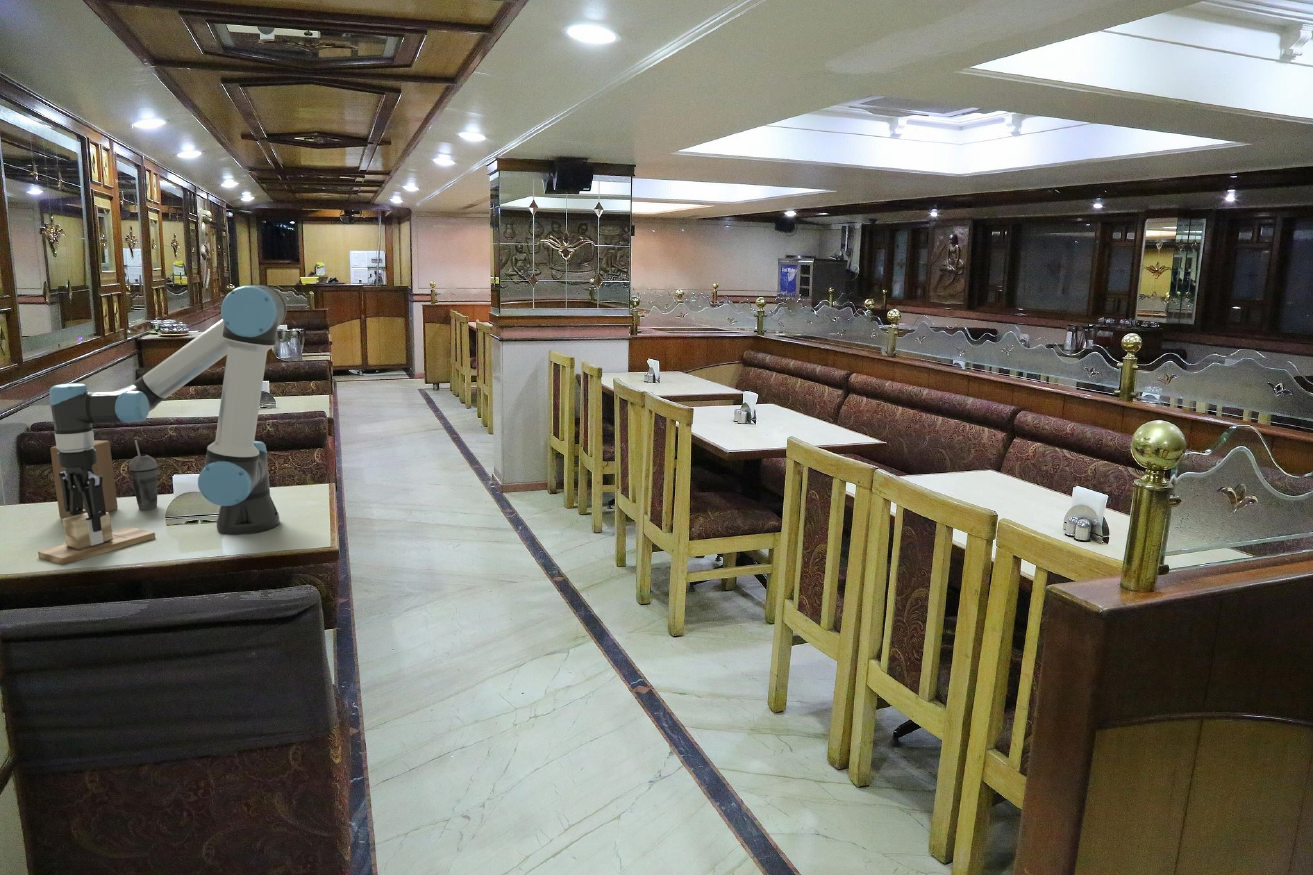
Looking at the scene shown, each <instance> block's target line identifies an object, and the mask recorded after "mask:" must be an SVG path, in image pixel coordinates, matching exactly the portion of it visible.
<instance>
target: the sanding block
mask: <svg viewBox="0 0 1313 875" xmlns="http://www.w3.org/2000/svg"><path fill="white" fill-rule="evenodd" d="M86 518H89V517H88V513H84V514H80V515H76V516H72V517H68V518H62V525H63V531H64V537H65V544H66V545H67V547H70V548H74V549H78V550H80V549H84V548H87V547H91V545H90V540H89V533H88V526H87V520H86ZM100 520H101V527H102V535H103V543H104V542H108V541H111V540H113V536H112V532H113V529H112V525H111V524H112V522H111V516H110V512H106V515H105V516H102V517H101V518H100ZM100 544H101V543H100ZM96 545H98V544H96ZM93 546H94V545H93Z"/></svg>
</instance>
